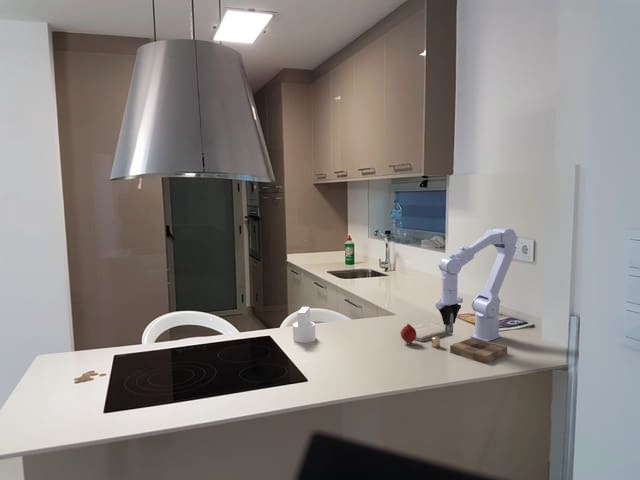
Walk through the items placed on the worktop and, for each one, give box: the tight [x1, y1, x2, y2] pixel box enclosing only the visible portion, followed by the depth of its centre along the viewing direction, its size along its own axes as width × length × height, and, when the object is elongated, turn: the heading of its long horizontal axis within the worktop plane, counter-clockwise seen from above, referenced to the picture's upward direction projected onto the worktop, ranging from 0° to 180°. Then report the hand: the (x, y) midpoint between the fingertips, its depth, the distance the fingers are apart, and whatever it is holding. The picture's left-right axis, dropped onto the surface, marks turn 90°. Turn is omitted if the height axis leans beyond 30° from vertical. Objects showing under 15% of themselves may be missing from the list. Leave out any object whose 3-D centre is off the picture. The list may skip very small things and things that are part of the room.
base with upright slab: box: [292, 306, 316, 344], centre depth 179 cm, size 9×9×12 cm
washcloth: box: [399, 322, 451, 343], centre depth 182 cm, size 12×18×3 cm, turn 124°
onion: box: [400, 322, 416, 345], centre depth 171 cm, size 6×6×8 cm
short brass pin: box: [431, 337, 441, 349], centre depth 168 cm, size 3×3×4 cm
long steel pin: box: [444, 311, 454, 334], centre depth 172 cm, size 3×3×8 cm
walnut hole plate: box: [449, 337, 508, 364], centre depth 160 cm, size 14×14×2 cm
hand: (449, 323), depth 172 cm, fingers closed on long steel pin, 3 cm apart
